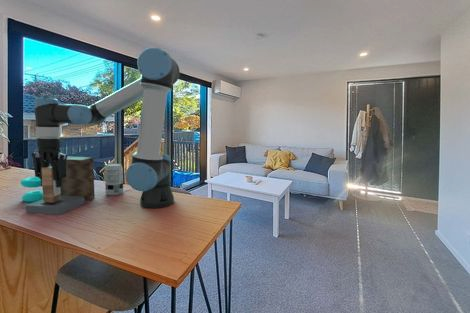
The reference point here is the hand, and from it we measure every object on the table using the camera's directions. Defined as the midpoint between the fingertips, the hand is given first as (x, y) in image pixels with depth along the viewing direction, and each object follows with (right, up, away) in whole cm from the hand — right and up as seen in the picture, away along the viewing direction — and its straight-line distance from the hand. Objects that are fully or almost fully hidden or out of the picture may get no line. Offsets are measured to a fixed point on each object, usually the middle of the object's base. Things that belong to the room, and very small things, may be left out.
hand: (51, 194), depth 98 cm
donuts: (-16, -4, +12) cm, 21 cm away
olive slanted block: (0, -5, +12) cm, 13 cm away
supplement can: (+13, -4, +26) cm, 29 cm away
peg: (0, -3, 0) cm, 3 cm away
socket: (0, -6, +3) cm, 7 cm away
